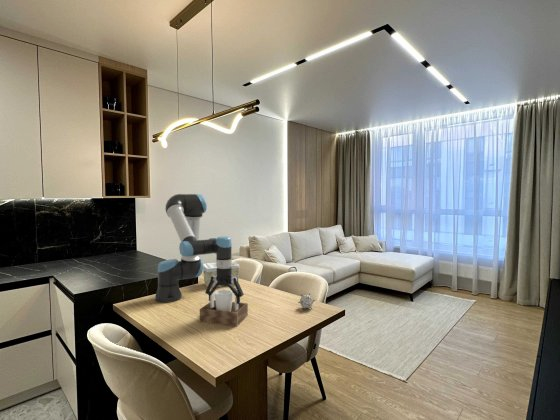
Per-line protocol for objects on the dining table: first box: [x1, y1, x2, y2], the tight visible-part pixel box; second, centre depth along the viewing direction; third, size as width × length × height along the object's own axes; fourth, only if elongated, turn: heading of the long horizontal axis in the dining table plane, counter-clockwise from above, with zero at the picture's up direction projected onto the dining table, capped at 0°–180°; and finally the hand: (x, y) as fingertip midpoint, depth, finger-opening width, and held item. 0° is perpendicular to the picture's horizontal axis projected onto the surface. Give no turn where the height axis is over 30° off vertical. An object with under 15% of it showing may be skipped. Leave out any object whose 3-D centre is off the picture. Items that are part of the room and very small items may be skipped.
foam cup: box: [213, 289, 234, 312], centre depth 153 cm, size 10×9×13 cm
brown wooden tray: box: [199, 299, 249, 327], centre depth 153 cm, size 20×14×6 cm
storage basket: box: [202, 260, 240, 289], centre depth 216 cm, size 24×16×15 cm
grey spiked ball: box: [297, 293, 316, 311], centre depth 168 cm, size 9×8×10 cm
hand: (224, 308), depth 153 cm, fingers open, 13 cm apart
